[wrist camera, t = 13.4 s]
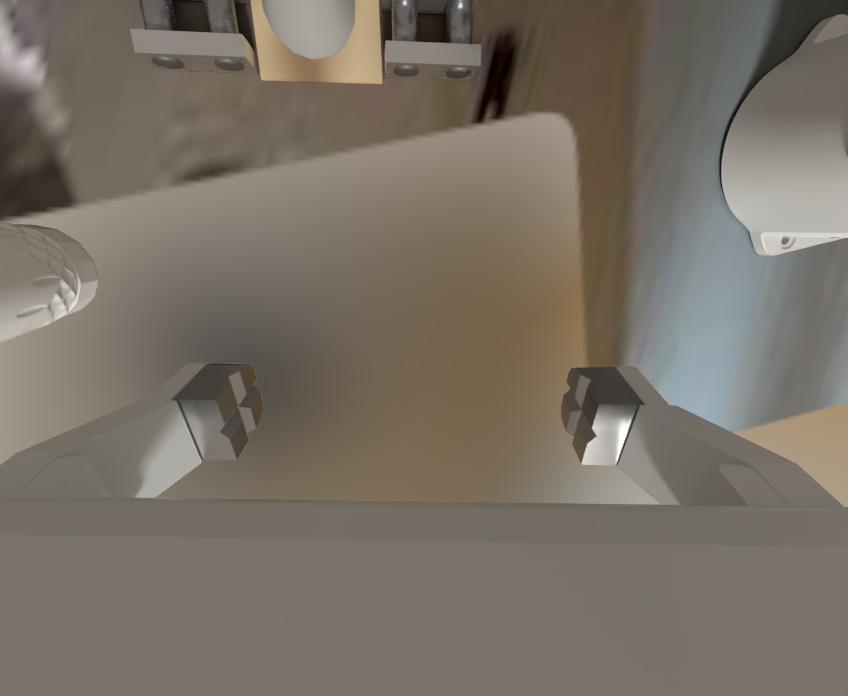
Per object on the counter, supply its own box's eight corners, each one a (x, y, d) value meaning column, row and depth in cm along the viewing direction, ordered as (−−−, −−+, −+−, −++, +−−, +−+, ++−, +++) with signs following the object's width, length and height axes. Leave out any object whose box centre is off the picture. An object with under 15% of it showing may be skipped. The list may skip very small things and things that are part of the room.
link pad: (377, -18, 26) (378, -21, 26) (382, 83, 28) (382, 82, 28) (248, -26, 25) (246, -29, 25) (262, 80, 27) (261, 78, 27)
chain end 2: (471, -7, 27) (483, -33, 24) (469, 81, 29) (480, 67, 26) (381, -12, 26) (382, -40, 23) (384, 79, 28) (386, 63, 25)
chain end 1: (245, -21, 25) (230, -51, 22) (258, 75, 27) (245, 58, 24) (140, -27, 24) (110, -60, 21) (160, 72, 26) (135, 54, 23)
